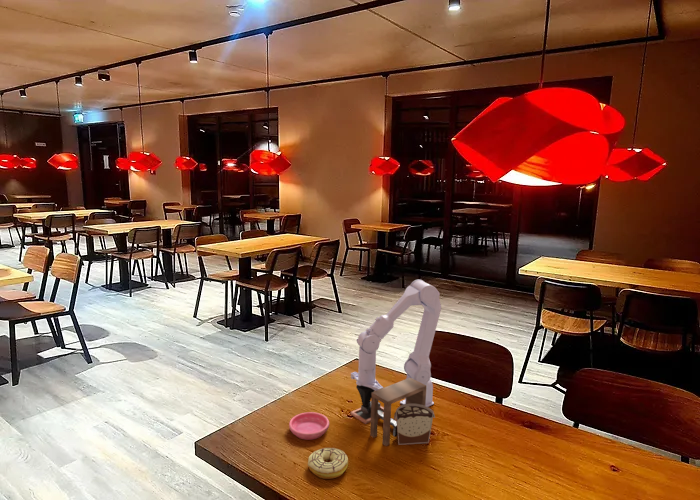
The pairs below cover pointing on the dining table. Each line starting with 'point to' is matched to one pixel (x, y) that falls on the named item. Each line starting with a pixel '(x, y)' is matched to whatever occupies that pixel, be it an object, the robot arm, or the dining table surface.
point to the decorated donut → (328, 463)
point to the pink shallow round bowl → (309, 425)
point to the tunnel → (392, 394)
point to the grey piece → (367, 410)
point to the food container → (413, 423)
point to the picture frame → (364, 415)
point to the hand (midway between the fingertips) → (365, 405)
